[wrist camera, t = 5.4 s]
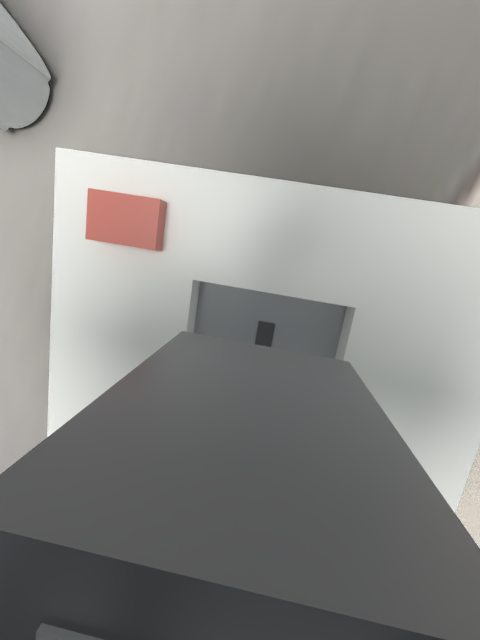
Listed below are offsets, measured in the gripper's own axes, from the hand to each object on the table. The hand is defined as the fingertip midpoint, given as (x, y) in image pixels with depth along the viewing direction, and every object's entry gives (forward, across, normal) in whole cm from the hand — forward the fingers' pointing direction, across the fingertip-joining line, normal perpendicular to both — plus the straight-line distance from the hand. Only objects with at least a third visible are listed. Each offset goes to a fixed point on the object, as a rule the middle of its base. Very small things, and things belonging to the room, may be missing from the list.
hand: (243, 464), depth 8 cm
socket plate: (+8, 0, 0) cm, 8 cm away
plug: (+2, 0, 0) cm, 2 cm away
